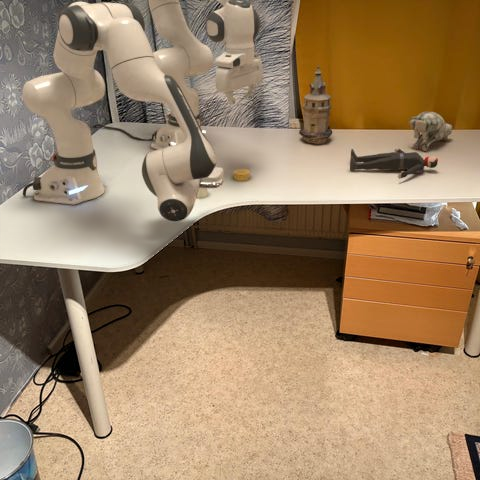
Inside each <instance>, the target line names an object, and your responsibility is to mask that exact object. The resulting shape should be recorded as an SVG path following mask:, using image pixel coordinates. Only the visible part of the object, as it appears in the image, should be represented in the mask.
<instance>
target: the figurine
mask: <svg viewBox="0 0 480 480" xmlns="http://www.w3.org/2000/svg"><path fill="white" fill-rule="evenodd" d="M408 124H409V126H410V127H411V129H412V130H413V133H414V134H413V138H414V139H417V140H416V141H415V142H414V143H413V149H415V150H418V149H420V145H421V144H422V142H424V141H425V142H424V144H423V145H422V146H421V149H422V150H423V151H424V152H427V151H428V150H429V146H430V145H431V144H433V142H440V141H441V140H445V141H448V136H450V135H451V134H452V131H453V125H452V124H451V123H450V124H449V123H447V122H446V121H445V120H444V118H443V117H442V116H441V115H440V114H438V113H437V112H434V111H422V112H421V113H419V114H417V116H411V118H410V120H409V121H408Z"/></svg>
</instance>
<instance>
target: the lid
mask: <svg viewBox="0 0 480 480" xmlns="http://www.w3.org/2000/svg"><path fill="white" fill-rule="evenodd" d="M233 179H234V180H235V181H237V182H246V181H248V180H249V179H250V170H249V169H246V168H238V169H235V170H234V171H233Z"/></svg>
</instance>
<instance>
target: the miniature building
mask: <svg viewBox="0 0 480 480" xmlns="http://www.w3.org/2000/svg"><path fill="white" fill-rule="evenodd" d="M320 67H321V66H320V65H317V66H316V68H317V69H316V71H315V72H314V75H315V76H314V79H313V81H312V83H310V84H309V85H308V86H309V93H307V94H306V95H304V96H303V97H302V98H303V105H301V106H302V109H303V114H302V115H303V124H302V127H300V129H299V132H298V134H299V136H300V137H302V139H303V141H305V142H307V143H309V144H314V145H320V144H321V145H322V144H325V143H326V142H327V141H328V140H329V139H330V137H332V135H333V129H331V125H329V120H330V115H331V108H332V106H333V105H332V104H331V98H332V96H331V95H330V94H328V93H326V81H324V82H323V78H322V71H321V70H320Z"/></svg>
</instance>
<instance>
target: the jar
mask: <svg viewBox="0 0 480 480" xmlns="http://www.w3.org/2000/svg"><path fill="white" fill-rule="evenodd" d="M207 196H208V188H200V189H199V192H198V195H197V197H196V199H197V198H198V199H201V198H206V197H207Z"/></svg>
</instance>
